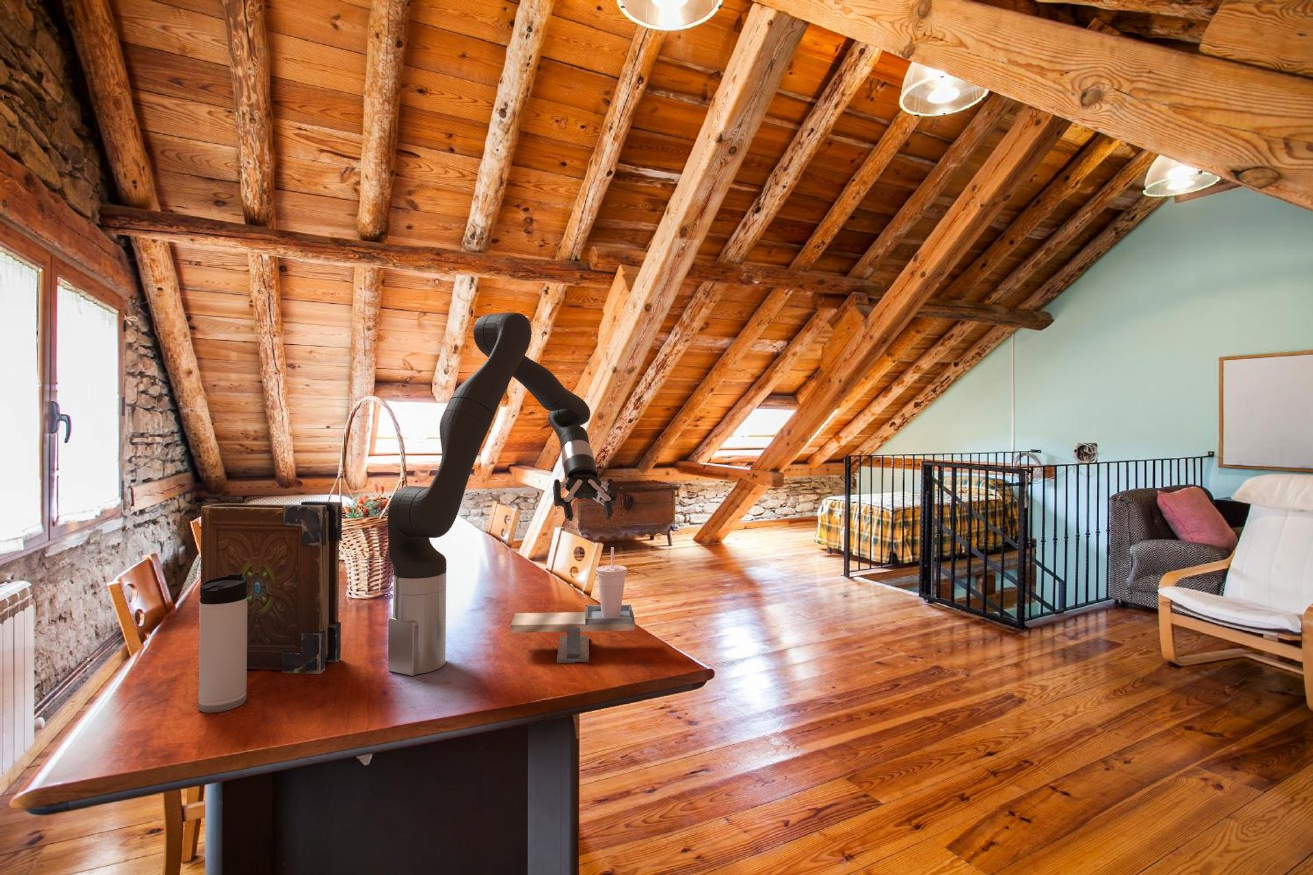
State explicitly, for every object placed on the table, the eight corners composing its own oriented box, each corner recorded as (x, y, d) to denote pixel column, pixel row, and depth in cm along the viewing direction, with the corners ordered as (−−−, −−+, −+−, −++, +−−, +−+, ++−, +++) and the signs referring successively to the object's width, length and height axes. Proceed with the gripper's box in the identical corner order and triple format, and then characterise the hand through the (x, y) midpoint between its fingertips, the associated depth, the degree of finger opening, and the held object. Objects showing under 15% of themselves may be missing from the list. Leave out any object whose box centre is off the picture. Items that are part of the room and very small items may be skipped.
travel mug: (256, 695, 104) (257, 573, 104) (230, 713, 97) (231, 582, 97) (217, 695, 104) (218, 573, 103) (188, 713, 97) (189, 582, 97)
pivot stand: (556, 663, 120) (557, 631, 120) (559, 639, 134) (560, 610, 134) (588, 662, 121) (589, 630, 121) (588, 638, 135) (588, 610, 134)
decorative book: (340, 659, 120) (342, 501, 120) (319, 673, 113) (321, 506, 113) (220, 656, 121) (221, 499, 121) (191, 670, 114) (193, 503, 114)
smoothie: (598, 621, 124) (599, 550, 124) (592, 612, 130) (593, 544, 130) (630, 619, 126) (631, 549, 126) (623, 610, 132) (624, 543, 132)
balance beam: (510, 634, 121) (510, 619, 121) (515, 619, 131) (515, 606, 131) (635, 631, 124) (635, 617, 124) (631, 617, 133) (632, 604, 133)
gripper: (551, 452, 145) (560, 508, 135) (611, 452, 150) (624, 506, 140) (546, 474, 150) (555, 529, 140) (604, 473, 155) (617, 527, 145)
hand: (590, 518), depth 140 cm, fingers open, 8 cm apart
